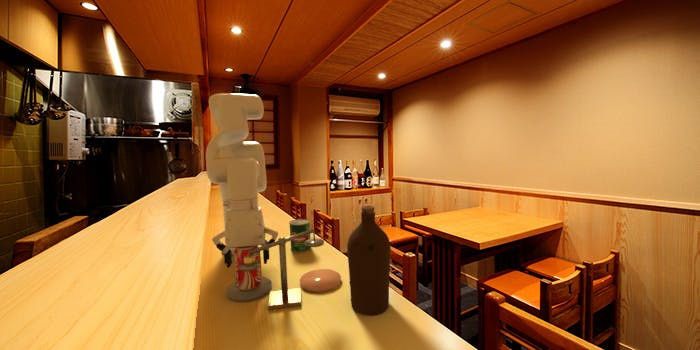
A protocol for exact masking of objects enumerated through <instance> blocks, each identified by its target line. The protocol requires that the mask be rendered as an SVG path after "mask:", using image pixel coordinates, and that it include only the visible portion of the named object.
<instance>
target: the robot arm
mask: <svg viewBox="0 0 700 350" xmlns="http://www.w3.org/2000/svg"><path fill="white" fill-rule="evenodd" d="M208 105H209V106H208V107H209V112H210V115H211V117H212V120H213V122H214V123H215V125H216V128H217V131H218V132H216V134H214V135H213V136H212V138H211V140H210V141H209V142H208V144H207V146H206V151H205V161H206V162H205V164H206V174H207V179H208V180H209V182H211V183H213V184H215V185H219V191H220V195H221V200H222V208H223V223H224V230H223V231H222V232H220V233H218V234H217V235H215V236H213V237H212V239H211V241H212V243H213V244H214V245H215V246H216V248H217V249H218V250H219V251H220V252H222V255H223V258H224V264H225V265H226V268H227V269H229V268H230V267H231V266H232V265H233V256H234V251H235V249H236V248H237V247H249V246H258V247H259V246H260V247H262V246H265V245H267V244H270V243H273V242H276V241H277V238H278V235H279V232H278V231H277V230H274V229H272V228H268V227H266V226H265V219H264V214H263V210H262V207H261V206H259V195H258V194H259V193H262V192H264V191H265V190H266V189H267V186H268V185H267V183H268V182H267V169H266V159H265V151H264V147H263V145H262V144H261V143H260V142H257V141H244V140H246V139H247V137H248V136H249V134H250V130H249V129H250V128H249V125H248V120H261V119H263V116H264V111H265V108H264V103H263V100H262V98H261V97H260V96H259V95H257V94H249V93H215V94H212V95H211V96H209V98H208ZM218 154H220V157H217V155H218ZM266 235H269V236H271V238H270V239H269V240H267V239H266ZM223 238H224V243H225V244H224V243H223V242H221V239H223ZM262 256H263V257H262V258H263V264H264V265H267V263H268V260H270V248H268V249H265V250H262Z"/></svg>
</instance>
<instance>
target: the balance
mask: <svg viewBox="0 0 700 350" xmlns="http://www.w3.org/2000/svg"><path fill="white" fill-rule="evenodd" d="M308 234H310V235H312V234H313V235H312V236H313V238H311V239H309V240H306V241H305V246H307V247H311V248H318V247H321V246H324V244H325V240H324V239H323V238H316V231H315V229H314V228H310V230H308V231H305V232H302V233H299V234H296V235H293V236H290V235H289V236H288V237H284V236H281V237H279V238H278V239H277V240H275V242H273V243H270V244H267V245H265V246H260V247H259V246H258V247H259V248H256V249H253V250H250V251H248V255H247V256H245V257H244V262H243V263H241V264H240V265H239V269H240V270H241V271H252V270H255V269H257V268H259V267H260V262H259V261H255V256H254V255H251V254H254V253H257V252H259V251H260V252H263V250H265V249H268V248H269V249H271V248H273V247H277V246H278V253H279V266H280V267H279V268H280V285H281V286H280V288H281V289H280V290H271V291H270V292H269V297H268V298H269V299H268V305H267V310H268V311H273V310H274V311H275V310H281V309H291V308H298V307H302V299H301V298H302V297H301V296H302V295H301V287H298V288H297V287H296V288H290V289H289V287H288V285H289V284H288V268H287V251H286V250H287V249H286V247H287V245H286V244H287V243H288V242H291V240H294V239H297V238H300V237H302V236H305V235H308Z"/></svg>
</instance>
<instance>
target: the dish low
mask: <svg viewBox="0 0 700 350" xmlns="http://www.w3.org/2000/svg"><path fill="white" fill-rule="evenodd" d="M272 287H273V285H272V280H271V279H270V278H268V277H265V276H262V282H261V284H260V285H259V286H258V287H256V288H255V289H252V290H248V291H244V290H241V289H238V288H237V287H236V282H235V281H234V282H232V283H231V284H229V286H228V287H227V288H226V290H225V291H226V297H227V299H228V300H230V301H232V302H235V303H236V302H237V303H247V302H252V301H256V300H258V299H261V298H263V297H265V296H266V295H268V294H270V292H271V291H272V289H273V288H272ZM270 290H271V291H270ZM267 293H268V294H267Z"/></svg>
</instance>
